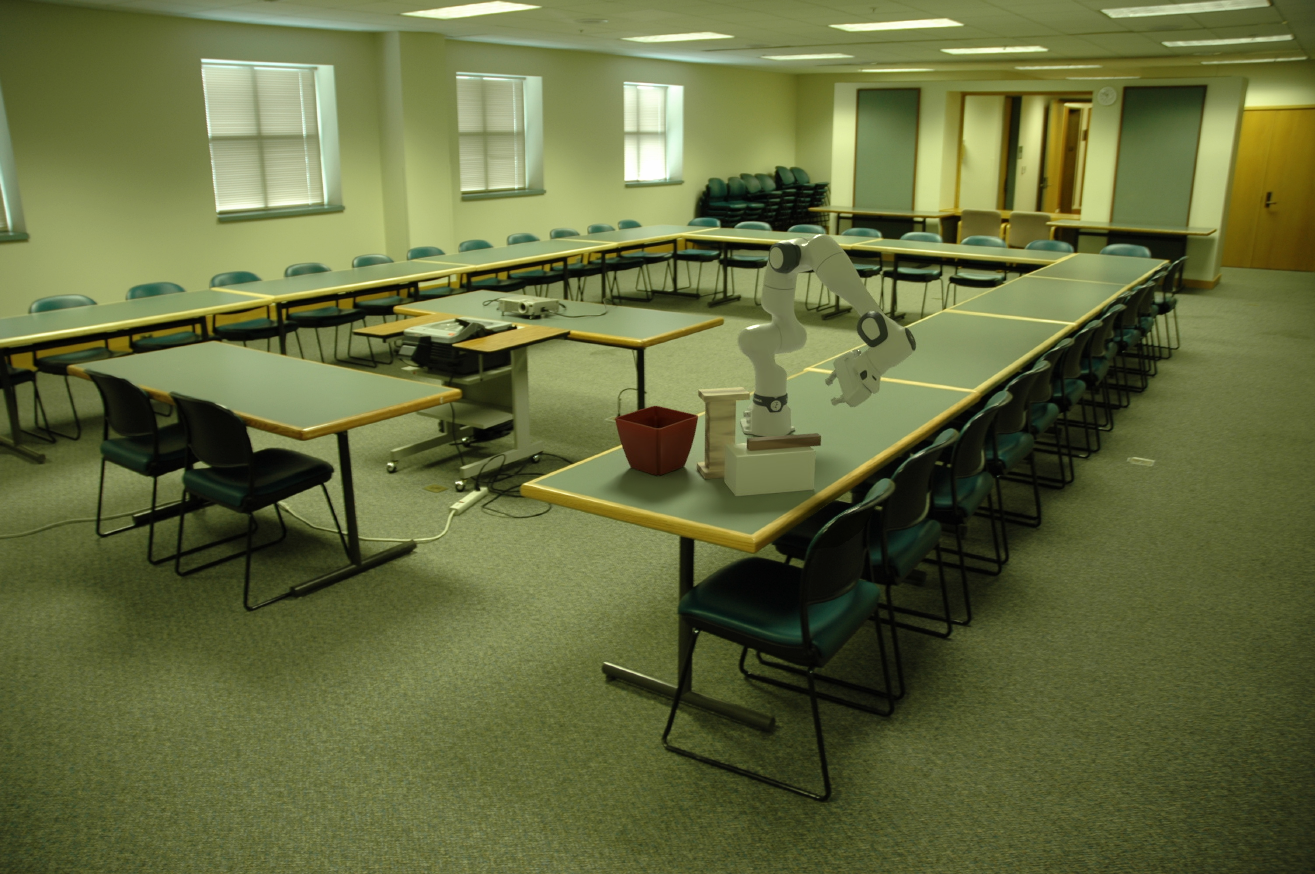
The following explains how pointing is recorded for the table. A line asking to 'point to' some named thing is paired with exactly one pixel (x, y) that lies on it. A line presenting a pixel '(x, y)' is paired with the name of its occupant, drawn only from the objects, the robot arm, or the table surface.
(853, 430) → the table surface
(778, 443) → the walnut bar
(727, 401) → the wooden i-beam pillar
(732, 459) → the white rectangular block
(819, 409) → the table surface
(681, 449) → the plant pot
